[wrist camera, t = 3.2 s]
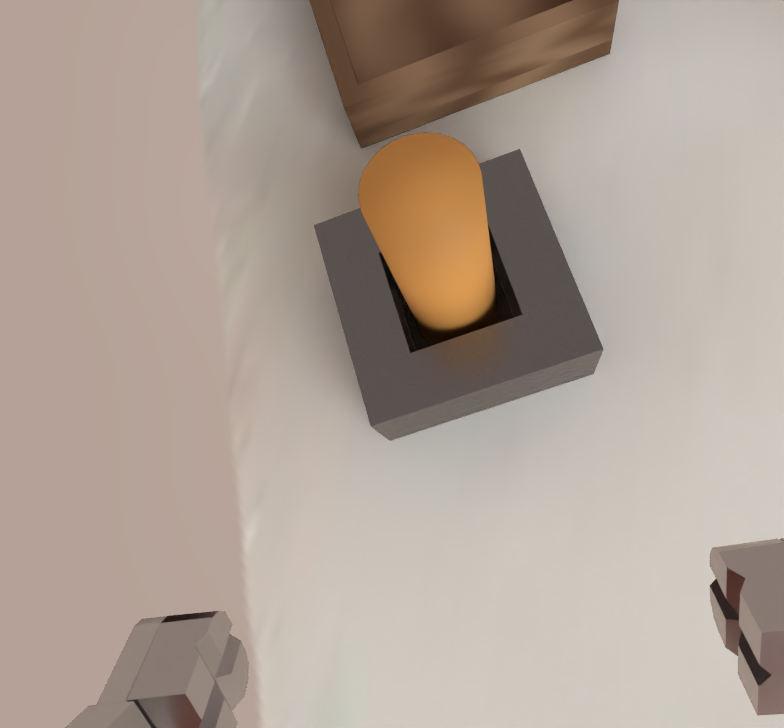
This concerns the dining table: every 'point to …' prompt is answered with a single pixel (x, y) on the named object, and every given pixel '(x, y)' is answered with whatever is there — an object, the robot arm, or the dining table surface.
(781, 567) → the robot arm
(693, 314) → the dining table surface
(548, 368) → the bracket
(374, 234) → the pin
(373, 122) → the walnut tray
